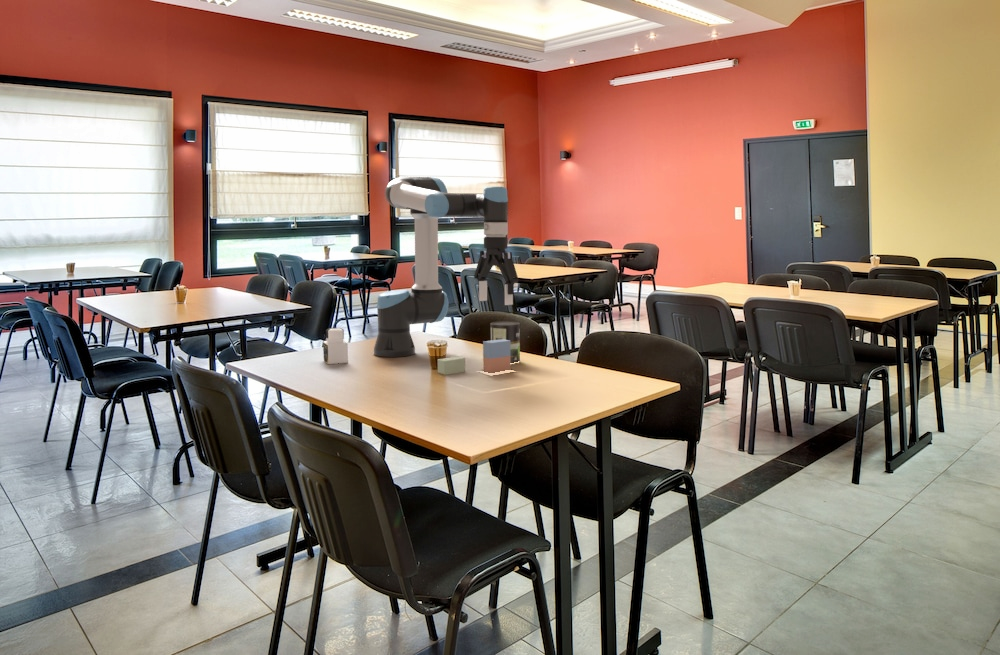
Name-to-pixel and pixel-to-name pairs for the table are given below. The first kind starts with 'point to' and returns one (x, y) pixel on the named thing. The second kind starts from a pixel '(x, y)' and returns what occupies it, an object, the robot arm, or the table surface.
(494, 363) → the terracotta brick
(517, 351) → the coffee can
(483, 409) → the table surface
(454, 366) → the green brick
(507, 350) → the blue brick
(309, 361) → the table surface
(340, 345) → the medicine bottle
